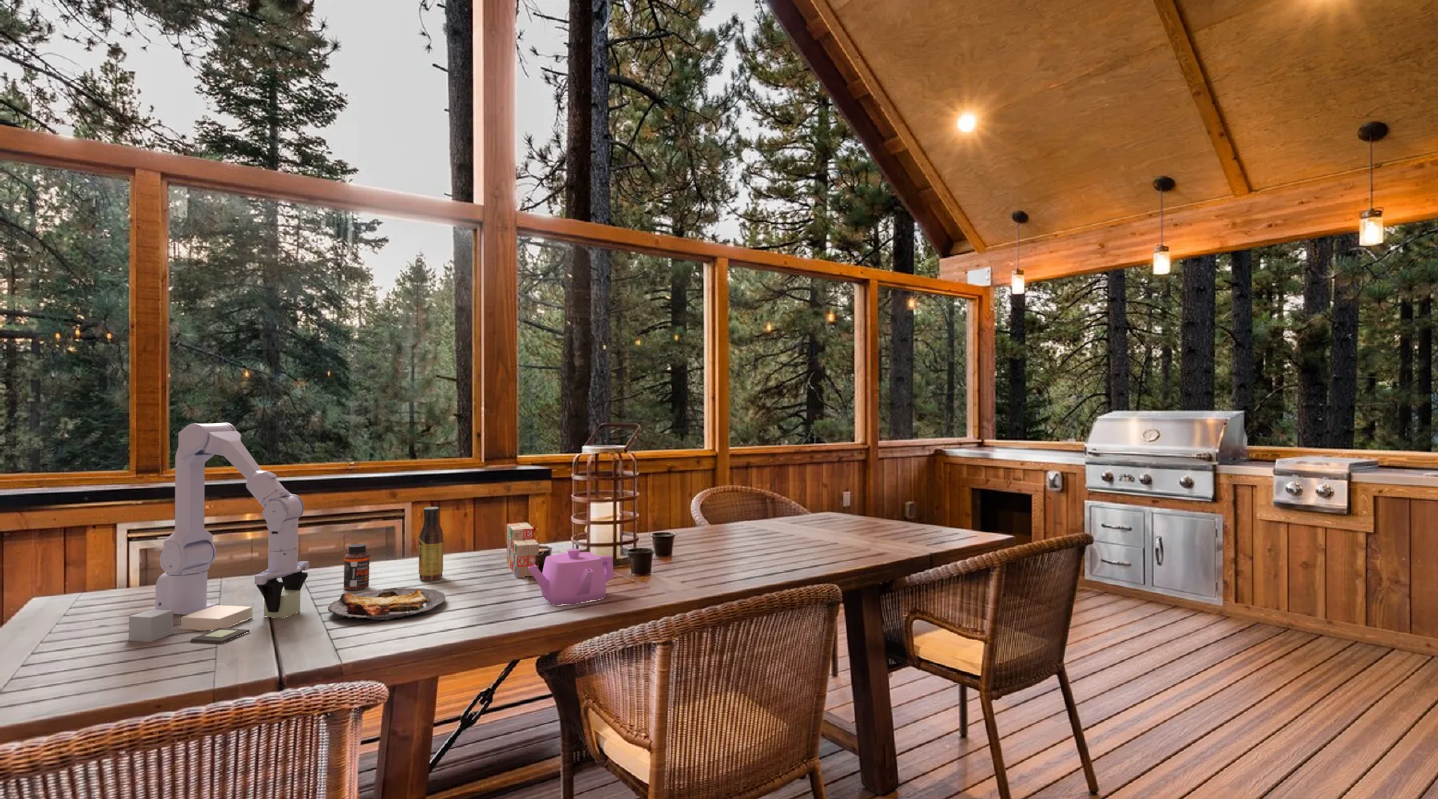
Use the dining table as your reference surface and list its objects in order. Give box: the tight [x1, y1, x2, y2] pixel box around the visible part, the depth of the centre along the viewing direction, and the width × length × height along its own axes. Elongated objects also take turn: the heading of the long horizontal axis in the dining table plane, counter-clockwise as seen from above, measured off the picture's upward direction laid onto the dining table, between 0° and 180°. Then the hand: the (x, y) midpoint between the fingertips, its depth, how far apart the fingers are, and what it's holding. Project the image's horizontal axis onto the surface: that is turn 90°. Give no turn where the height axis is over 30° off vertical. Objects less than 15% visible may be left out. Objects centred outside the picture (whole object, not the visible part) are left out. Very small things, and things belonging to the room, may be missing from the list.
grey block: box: [128, 608, 174, 643], centre depth 144 cm, size 5×5×5 cm
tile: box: [190, 628, 250, 644], centre depth 145 cm, size 7×7×1 cm
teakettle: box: [528, 548, 615, 605], centre depth 177 cm, size 17×17×12 cm
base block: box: [180, 604, 253, 631], centre depth 153 cm, size 9×9×3 cm
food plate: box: [327, 586, 446, 621], centre depth 166 cm, size 25×23×4 cm
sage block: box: [263, 589, 301, 619], centre depth 160 cm, size 5×5×5 cm
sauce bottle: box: [418, 506, 444, 582], centre depth 194 cm, size 7×6×20 cm
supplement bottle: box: [343, 543, 371, 591], centre depth 184 cm, size 6×6×11 cm
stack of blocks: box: [506, 522, 540, 579], centre depth 207 cm, size 21×6×12 cm, turn 24°
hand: (282, 608), depth 160 cm, fingers closed on sage block, 5 cm apart
